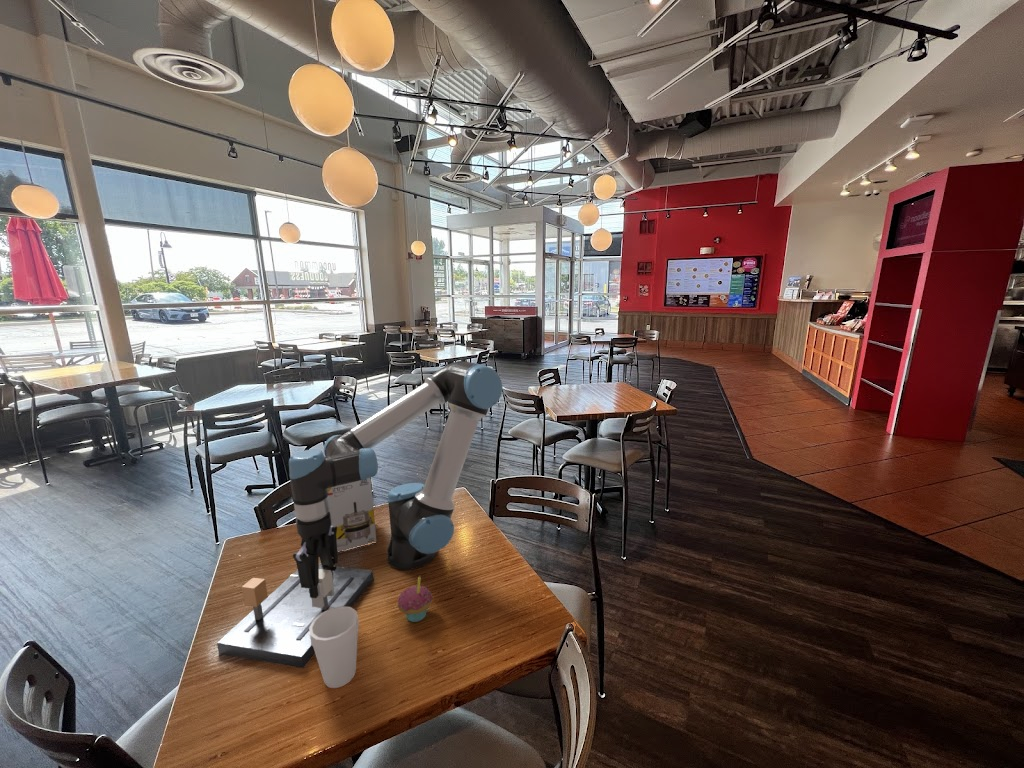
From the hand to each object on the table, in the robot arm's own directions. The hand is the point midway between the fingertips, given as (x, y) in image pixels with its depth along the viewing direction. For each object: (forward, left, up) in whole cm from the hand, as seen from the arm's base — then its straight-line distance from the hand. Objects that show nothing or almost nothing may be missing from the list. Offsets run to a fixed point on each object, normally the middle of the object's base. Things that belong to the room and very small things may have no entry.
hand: (323, 600), depth 104 cm
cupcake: (-22, -5, -6) cm, 23 cm away
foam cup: (-13, +14, -6) cm, 20 cm away
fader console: (+7, -1, -6) cm, 9 cm away
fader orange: (+14, +6, -2) cm, 15 cm away
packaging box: (+16, -35, -6) cm, 39 cm away
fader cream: (0, 0, -2) cm, 2 cm away
